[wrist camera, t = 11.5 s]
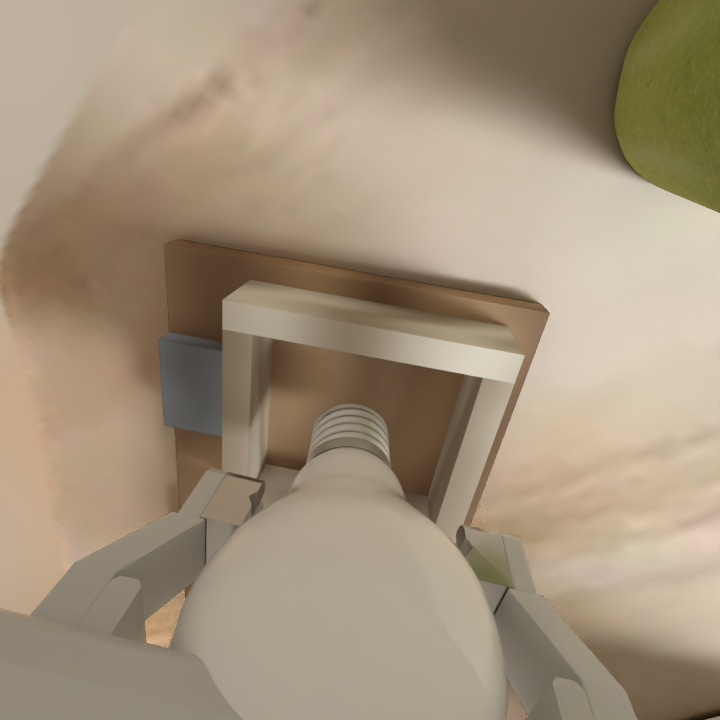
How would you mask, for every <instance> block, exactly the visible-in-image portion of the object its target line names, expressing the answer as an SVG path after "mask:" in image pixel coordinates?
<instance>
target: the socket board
mask: <svg viewBox="0 0 720 720" xmlns="http://www.w3.org/2000/svg"><path fill="white" fill-rule="evenodd" d="M164 251H165V267H166V284H167V301H168V318H169V333H168V334H166V335H165V336H163V337H162V338H160V339H159V340H158V343H159V356H160V370H161V384H162V397H163V411H164V425H166V426H171V427H175V435H176V452H177V469H178V486H179V503H180V509H181V508H182V506H183V505H184V503H185V502H186V500H187V499H188V497H189V496H190V495H191V493H192V492H193V490H194V489H195V487H196V486H197V484H198V483H199V481H200V480H201V478H202V477H203V475H204V474H205V472H206V471H207V470H209V469H210V468H214V469H218V470H222V471H226V472H231V473H235V474H239V475H243V476H247V477H251V478H255V479H259V480H263V481H265V492H264V494H263V497H262V499H261V501H262V502H263V508H265V507H266V506H268V505H270V504H271V503H273V502H275V501H276V500H278V499H280V498H282V497H283V496H285V495H286V494H287V492H288V490H289V488H290V486H291V484H292V482H293V480H294V479H295V477H296V476H297V474H298V473H299V471H300V470H301V469H302V468H303V467H304V466H305V465H306V462H307V457H308V452H309V448H310V442H311V436H312V433H313V427H314V424H315V422H316V420H317V418H318V417H319V416H320V415H321V414H322V413H323V412H324V411H325V410H327V409H329V408H331V407H333V406H335V405H339V404H344V403H355V404H361V405H364V406H367V407H369V408H371V409H373V410H374V411H376V412H377V413H378V414H379V415H380V416H381V417H382V418H383V420H384V421H385V423H386V426H387V429H388V436H389V451H390V462H391V464H390V465H391V470H392V471H393V472H394V474H395V475H396V477H397V478H398V480H399V482H400V484H401V486H402V489H403V491H404V494H405V497H406V499H407V502H409V503H410V504H411V505H413V506H414V507H415V508H417V509H418V510H419V511H421V512H422V513H423V514H424V515H426V516H427V517H428V518H429V519H430V520H432V521H433V522H434V523H435V524H436V525H437V526H438V527H439V528H440V529H441V530H442V531H443V532H444V533H445V534H446V535H447V536H448V537H449V538H450V539H451V540H452V541H453V543H454V544H456V543H457V541H456V533H457V530H458V528H459V527H460V526H461V525H466V526H470V524H471V522H472V519H473V516H474V514H475V511H476V508H477V506H478V503H479V500H480V498H481V495H482V492H483V490H484V487H485V484H486V482H487V479H488V476H489V474H490V471H491V468H492V466H493V463H494V461H495V458H496V455H497V453H498V450H499V447H500V445H501V442H502V439H503V437H504V434H505V431H506V429H507V426H508V423H509V421H510V418H511V415H512V413H513V410H514V407H515V405H516V402H517V399H518V397H519V394H520V391H521V389H522V386H523V383H524V381H525V378H526V375H527V373H528V370H529V367H530V365H531V362H532V359H533V357H534V354H535V351H536V349H537V346H538V343H539V341H540V338H541V336H542V333H543V330H544V328H545V325H546V322H547V320H548V317H549V314H550V313H549V312H548V311H547V309H546V308H545V307H544V306H543V305H542V304H537V303H531V302H526V301H520V300H514V299H509V298H503V297H498V296H492V295H486V294H481V293H475V292H470V291H464V290H458V289H453V288H447V287H442V286H436V285H430V284H425V283H419V282H414V281H408V280H403V279H397V278H391V277H386V276H380V275H375V274H369V273H363V272H358V271H352V270H347V269H341V268H335V267H330V266H324V265H319V264H313V263H308V262H302V261H296V260H291V259H285V258H280V257H274V256H268V255H263V254H257V253H252V252H246V251H240V250H235V249H229V248H224V247H218V246H212V245H207V244H201V243H196V242H190V241H185V240H179V239H178V240H175V241H171V242H168V243H165V244H164ZM194 582H195V580H194V581H193V582H192V583H191V584H189V585H188V586H187V587H186V588H185V599H186V597H187V595H188V593H189V591H190V589H191V587H192V585H193V584H194Z"/></svg>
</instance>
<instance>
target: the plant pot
mask: <svg viewBox="0 0 720 720" xmlns="http://www.w3.org/2000/svg"><path fill="white" fill-rule="evenodd" d="M614 124H615V132H616V135H617V139H618V142H619V144H620V147H621V150H622V152H623V154H624V156H625V158H626V159H627V161H628V163H629V164H630V165H631V166H632V167H633V169H634V170H635V171H636V172H637V173H638V174H640V175H641V176H642V177H643V178H644V179H646V180H647V181H649V182H651V183H652V184H654V185H656V186H657V187H660V188H662V189H664V190H666V191H669V192H671V193H673V194H676V195H678V196H681V197H683V198H685V199H688V200H690V201H693V202H695V203H698V204H700V205H702V206H705V207H707V208H709V209H712V210H714V211H716V212H719V213H720V0H658V2H657V3H656V4H655V6H654V7H653V8H652V9H651V11H650V12H649V13H648V15H647V16H646V18H645V19H644V21H643V22H642V24H641V25H640V27H639V28H638V30H637V32H636V34H635V36H634V37H633V39H632V41H631V43H630V45H629V48H628V50H627V52H626V55H625V58H624V63H623V67H622V72H621V76H620V80H619V86H618V92H617V98H616V104H615V110H614Z"/></svg>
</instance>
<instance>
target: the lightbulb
mask: <svg viewBox="0 0 720 720" xmlns="http://www.w3.org/2000/svg"><path fill="white" fill-rule="evenodd" d="M390 464H391V462H390V451H389V436H388V429H387V426H386V423H385V421H384V420H383V418H382V417H381V416H380V415H379V414H378V413H377V412H376V411H374V410H373V409H371V408H369V407H367V406H364V405H361V404H355V403H344V404H339V405H335V406H333V407H331V408H329V409H327V410H325V411H324V412H323V413H322V414H321V415H320V416H319V417H318V418H317V420H316V422H315V424H314V427H313V433H312V436H311V442H310V448H309V452H308V457H307V462H306V465H305V466H304V467H303V468H302V469H301V470H300V471H299V473H298V474H297V476H296V477H295V479H294V480H293V482H292V484H291V486H290V488H289V490H288V492H287V494H286V495H285V496H283V497H282V498H280V499H278V500H276V501H275V502H273V503H271V504H270V505H268V506H266V507H265V508H263V509H262V510H260V511H259V512H258V513H256V514H255V515H253V516H252V517H251V518H249V519H248V520H247V521H246V522H244V523H243V524H242V525H241V526H240V527H238V528H237V529H236V530H235V531H234V532H233V533H232V534H231V535H230V536H229V537H228V538H227V539H226V540H225V541H224V542H223V543H222V544H221V546H220V547H219V548H218V549H217V550H216V551H215V553H214V554H213V555H212V556H211V558H210V559H209V560H208V562H207V563H206V565H205V566H204V567H203V569H202V570H201V572H200V574H199V575H198V577H197V578H196V580H195V582H194V584H193V585H192V587H191V589H190V591H189V593H188V595H187V597H186V599H185V601H184V603H183V605H182V608H181V610H180V612H179V615H178V617H177V620H176V623H175V626H174V628H173V631H172V635H171V638H170V641H169V645H168V648H169V649H174V650H178V651H182V652H186V653H191V654H195V655H196V656H198V657H199V658H200V659H201V660H202V661H203V662H204V664H205V665H206V667H207V668H208V670H209V672H210V675H211V677H212V679H213V680H214V682H215V684H216V686H217V687H218V689H219V691H220V692H221V694H222V695H223V696H224V698H225V699H226V701H227V702H228V703H229V704H230V706H231V707H232V708H233V709H234V710H235V711H236V713H237V714H238V715H239V716H240V717H241V718H242V719H243V720H507V678H506V668H505V660H504V654H503V648H502V643H501V639H500V635H499V631H498V627H497V624H496V620H495V617H494V614H493V611H492V608H491V606H490V603H489V601H488V598H487V596H486V594H485V591H484V589H483V587H482V585H481V583H480V581H479V579H478V578H477V576H476V574H475V572H474V571H473V569H472V567H471V566H470V564H469V563H468V561H467V560H466V558H465V557H464V555H463V554H462V553H461V551H460V550H459V549H458V547H457V546H456V545H455V544H454V543H453V541H452V540H451V539H450V538H449V537H448V536H447V535H446V534H445V533H444V532H443V531H442V530H441V529H440V528H439V527H438V526H437V525H436V524H435V523H434V522H433V521H432V520H430V519H429V518H428V517H427V516H426V515H424V514H423V513H422V512H421V511H419V510H418V509H417V508H415V507H414V506H413V505H411V504H410V503H409V502H407V499H406V497H405V494H404V491H403V489H402V486H401V484H400V482H399V480H398V478H397V477H396V475H395V474H394V472H393V471H392V470H391V465H390Z"/></svg>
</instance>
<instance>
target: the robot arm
mask: <svg viewBox="0 0 720 720" xmlns="http://www.w3.org/2000/svg"><path fill="white" fill-rule="evenodd" d="M264 492H265V481H263V480H259V479H255V478H251V477H247V476H243V475H239V474H235V473H231V472H226V471H222V470H218V469H214V468H210V469H209V470H207V471H206V472H205V474H204V475H203V477H202V478H201V480H200V481H199V483H198V484H197V486H196V487H195V489H194V490H193V492H192V493H191V495H190V496H189V497H188V499H187V500H186V502H185V503H184V505H183V506H182V508H181V509H180V511H179V512H178V513H177V512H171V513H169V514H167V515H165V516H163V517H161V518H159V519H158V520H156V521H154V522H152V523H150V524H148V525H146V526H144V527H142V528H140V529H138V530H137V531H135V532H133V533H131V534H129V535H127V536H125V537H123V538H121V539H119V540H117V541H116V542H114V543H112V544H110V545H108V546H106V547H104V548H102V549H100V550H98V551H96V552H94V553H93V554H91V555H89V556H87V557H85V558H83V559H81V560H79V561H77V562H75V563H74V564H73V566H72V567H71V568H70V569H69V570H68V571H67V573H66V574H65V575H64V576H63V577H62V579H61V580H60V581H59V582H58V583H57V584H56V585H55V587H54V588H53V589H52V590H51V591H50V593H49V594H48V595H47V596H46V597H45V598H44V600H43V601H42V602H41V603H40V604H39V606H38V607H37V608H36V609H35V610H34V611H33V613H32V614H31V615H26V614H22V613H17V612H14V611H9V610H5V609H1V608H0V720H243V719H242V718H241V717H240V716H239V715H238V714H237V713H236V711H235V710H234V709H233V708H232V707H231V706H230V704H229V703H228V702H227V701H226V699H225V698H224V696H223V695H222V694H221V692H220V691H219V689H218V687H217V686H216V684H215V682H214V680H213V679H212V677H211V675H210V672H209V670H208V668H207V667H206V665H205V664H204V662H203V661H202V660H201V659H200V658H199V657H198V656H196V655H195V654H191V653H186V652H182V651H178V650H174V649H169V648H165V647H161V646H157V645H153V644H148V643H146V633H145V620H146V619H147V618H148V617H150V616H151V615H152V614H153V613H155V612H156V611H157V610H158V609H160V608H161V607H162V606H163V605H165V604H166V603H167V602H168V601H170V600H171V599H172V598H173V597H175V596H176V595H177V594H178V593H179V592H181V591H182V590H183V589H184V588H186V587H187V586H188V585H189V584H191V583H192V582H193V581H194V580H196V578H197V577H198V575H199V574H200V572H201V570H202V569H203V567H204V566H205V565H206V563H207V562H208V560H209V559H210V558H211V556H212V555H213V554H214V553H215V551H216V550H217V549H218V548H219V547H220V546H221V544H222V543H223V542H224V541H225V540H226V539H227V538H228V537H229V536H230V535H231V534H232V533H233V532H234V531H235V530H236V529H237V528H238V527H240V526H241V525H242V524H243V523H244V522H246V521H247V520H248V519H249V518H251V517H252V516H253V515H255V514H256V513H258V512H259V511H260V510H262V509H263V502H262V501H261V499H262V497H263V494H264ZM456 541H457V543H456V544H455V545H456V546H457V547H458V549H459V550H460V551H461V553H462V554H463V555H464V557H465V558H466V560H467V561H468V563H469V564H470V566H471V567H472V569H473V571H474V572H475V574H476V576H477V578H478V579H479V581H480V583H481V585H482V587H483V589H484V591H485V594H486V596H487V598H488V601H489V603H490V606H491V608H492V611H493V614H494V617H495V620H496V624H497V627H498V631H499V635H500V639H501V643H502V648H503V654H504V660H505V668H506V677H507V679H508V681H509V683H510V684H511V686H512V688H513V689H514V691H515V693H516V695H517V696H518V698H519V700H520V702H521V703H522V705H523V707H524V709H525V710H526V712H527V714H528V717H527V718H526V719H525V720H637V717H636V715H635V712H634V710H633V707H632V705H631V702H630V700H629V697H628V695H627V692H626V691H625V690H624V689H623V687H622V686H621V685H620V684H619V683H618V682H617V681H616V679H615V678H614V677H613V676H612V675H611V674H610V672H609V671H608V670H607V669H606V668H605V667H604V666H603V664H602V663H601V662H600V661H599V660H598V659H597V658H596V656H595V655H594V654H593V653H592V652H591V651H590V649H589V648H588V647H587V646H586V645H585V644H584V643H583V641H582V640H581V639H580V638H579V637H578V636H577V635H576V633H575V632H574V631H573V630H572V629H571V628H570V626H569V625H568V624H567V623H566V622H565V621H564V620H563V618H562V617H561V616H560V615H559V614H558V613H557V612H556V610H555V609H554V608H553V607H552V606H551V605H550V604H549V602H548V601H547V600H546V599H545V598H544V597H543V596H541V595H537V593H536V589H535V586H534V583H533V579H532V576H531V572H530V569H529V566H528V562H527V559H526V555H525V552H524V549H523V545H522V542H521V540H520V538H519V537H518V536H513V535H508V534H503V533H498V532H494V531H489V530H485V529H480V528H475V527H471V526H466V525H461V526H460V527H459V528H458V530H457V533H456ZM706 720H720V716H718V717H714V718H710V719H706Z"/></svg>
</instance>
